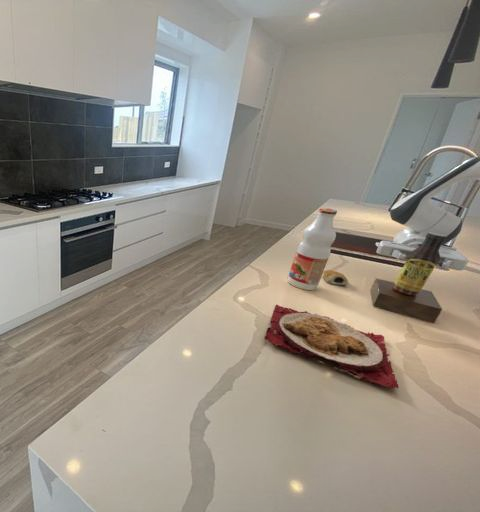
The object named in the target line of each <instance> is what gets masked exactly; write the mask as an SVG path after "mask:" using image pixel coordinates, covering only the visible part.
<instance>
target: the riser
mask: <svg viewBox="0 0 480 512" xmlns="http://www.w3.org/2000/svg"><path fill="white" fill-rule="evenodd" d="M394 282H395V281H394ZM394 282H393V281H389V280H386V279H381V278H376V277H375V279H374V281H373V284H372V285H371V288H370V291H369V292H370V297H371V303H372V307H374V308H377V309H380V310H385V311H388V312H391V313H396V314H399V315H403V316H406V317H410V318H414V319H417V320H420V321H424V322H427V323H431V324H435V323H436V321H437V319H438V318H439V316H440V314H441V313H442V310H443V308H442V306H441V305H440V303H439V301H438V299H437V298H436V297H435V295H434V293H433V291H431V290H427V289H423V288H422V289H421V291H420V292H419V293H418V294H417V295H415V296H412V295H407V294H403V293H400V292H398V291H396V290H394V289H393V285H394V284H395V283H394Z"/></svg>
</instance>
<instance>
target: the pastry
mask: <svg viewBox="0 0 480 512" xmlns="http://www.w3.org/2000/svg"><path fill="white" fill-rule="evenodd" d="M322 276H323V279H324V280H325V283H327V284H330V285H336V286H337V285H338V286H339V285H340V286H345V285H347V284H348V283H349V281H348V278H347V277H346V276H345V275H344V274H343V273H341V272H339V271H334V270H332V269H326V270H324V271H323V274H322Z"/></svg>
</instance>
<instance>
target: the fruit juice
mask: <svg viewBox="0 0 480 512" xmlns="http://www.w3.org/2000/svg"><path fill="white" fill-rule="evenodd" d="M337 213H338V210H336V209H334V208H329V207H319V208H318V210H317V216H316V218H315V219H314V221H313V222H312V223H311V224H309V225H308V226H307V227H305V228H304V230H303V232H302V240H301V241H300V242H299V243H298V245H297V249H296V252H295V255H294V257H293V261H292V264H291V267H290V270H289V273H288V275H287V282H288V283H289V284H290V285H291V286H293V287H295V288H298V289H301V290H305V291H306V290H307V291H314V290H316V289H317V288H318V286H319V284H320V282H321V279H322V276H323V274H324V271H325V268H326V266H327V263H328V261H329V258H330V255H331V252H332V248H331V247H332V245H333V243H334V242H335V241H336V238H337V232H336V230H335V228H334V218H335V217H336V215H337Z"/></svg>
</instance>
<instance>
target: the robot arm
mask: <svg viewBox="0 0 480 512" xmlns="http://www.w3.org/2000/svg"><path fill="white" fill-rule="evenodd" d="M467 180H477V181H480V156H474V157H471V158H469V159H466V160H465V161H463V162H461V163H459V164H457V165H456V166H454V167H452V168H450V169H449V170H447V171H446V172H444V173H443V174H441V175H440V176H438V177H436V178H435V179H433V180H431V181H430V182H428V183H427V184H425V185H423V186H422V187H421V188H419V189H417V190H416V191H414V192H413V193H410V194H409V195H407V196H405V197H404V198H401V199H400V200H398V201H397V202H396V203H394V204H393V205H392V206H391V207H390V209H389V216H390V218H391V220H392V221H393V222H395V223H398V224H400V225H402V226H405V227H406V228H404V229H401V230H399V231H398V232H396V234H395V235H394V236H393V238H392V241H390V240H381V241H380V242H378V241H377V242H375V244H374V245H375V246H376V247H377V248H376V254H378V255H381V256H384V257H390V258H396V260H398V261H399V260H400V261H403V262H406V261H407V259H408V258H409V257H410V255H411V253H412V251H413V250H415V249H417V248H418V247H420V246H421V245H422V244H423V242H424V240H425V238H426V235H427V233H428V232H435V233H440V234H443V235H446V236H447V238H446V240H445V241H443V243H442V245H441V246H440V249H439V254H440V258H439V260H438V262H437V264H436V266H435V267H438V268H440V269H443V270H448V269H450V270H453V271H463V270H465V268H466V267H467V265H468V263H469V259H468V257H466V256H465V255H464V254H463V253H462V252H460V251H457V247H455V246H453V245H448V243H450V242H451V241H453V240H454V239H455V238H456V237H458V235H459V234H460V233H461V231H462V228H463V218H461V217H460V216H458V215H455V214H453V213H452V212H450V211H449V210H445V209H444V208H442V207H439V206H438V205H437V204H434V203H432V202H431V201H430V200H431V199H432V198H434V197H435V196H437V195H438V194H440V193H442V192H443V191H445V190H446V189H448V188H451V187H452V186H453V185H455V184H457V183H459V182H462V181H467Z"/></svg>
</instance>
